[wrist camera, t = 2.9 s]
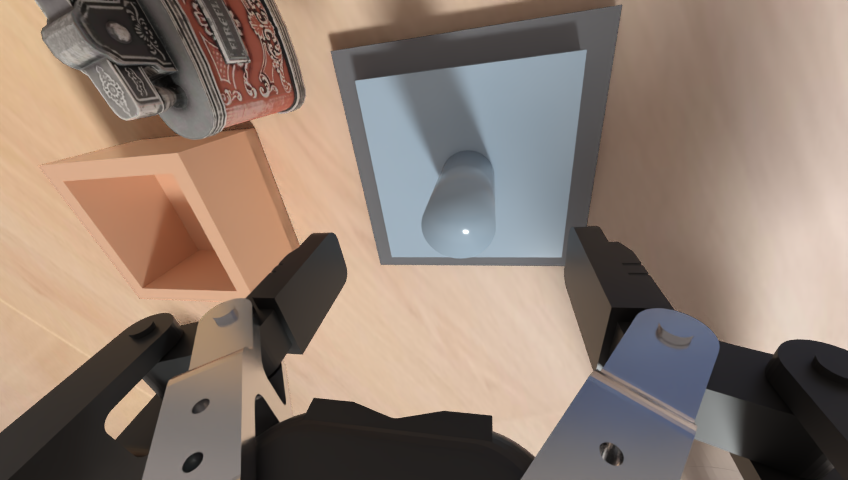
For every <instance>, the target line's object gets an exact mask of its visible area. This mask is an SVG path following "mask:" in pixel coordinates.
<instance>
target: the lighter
mask: <svg viewBox="0 0 848 480" xmlns="http://www.w3.org/2000/svg"><path fill="white" fill-rule="evenodd" d="M35 2H36V3H37V4H38V6H39V7H40V9H41V10H42V12H43V13H44V14H45V16H46V17H47V25H46V26H45V27H43V28H42V31H41V34H42V39H43V41H44V42H45V44H46V45H47V47H48V48H49V49H50V51H51V52H52V53H53V55H54V56H55V57H56V58H57V59H59V60H60V61H61V62H62V63H64V64H65V65H67V66H69V67H71V68H74V69H77V70H80V71H81V72H82V73H84V74H86V75H87V76H88V77H89V78H90V79H91V81H92V82H93V84H94V85H95V87H96V88H97V89H98V91H99V92H100V94H101V95H102V96H103V98H104V99H105V101H106V102H107V104H108V105H109V106H110V108H111V109H112V110H113V112H114V113H115V114H116V115H117V116H118V117H119V118H121V119H123V120H125V121H128V120H134V119H139V118H144V117H149V116H155V115H159V116H160V117H161V118H162V120H163V121H164V122H165V123H166V125H167V126H169V127H170V128H171V129H172V130H173V131H174V132H175V133H177V134H178V135H180V136H182V137H184V138H188V139H192V140H197V139H203V138H207V137H210V136H213V135H216V134H217V133H219V132H221V131H222V129H223V128H225V127H229V126H232V125H235V124H239V123H242V122H246V121H249V120H253V119H256V118H260V117H263V116H267V115H270V114H274V113H280V114H282V113H289V112H292V111H295V110H297V109H299V108H300V107H301V106H302V105H303V103H304V101H305V98H306V90H305V85H304V82H303V78H302V74H301V70H300V66H299V62H298V58H297V56H296V53H295V50H294V47H293V44H292V41H291V38H290V36H289V33H288V30H287V27H286V25H285V23H284V21H283V18H282V16H281V14H280V12H279V10H278V8H277V6H276V4H275V1H274V0H35Z"/></svg>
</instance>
